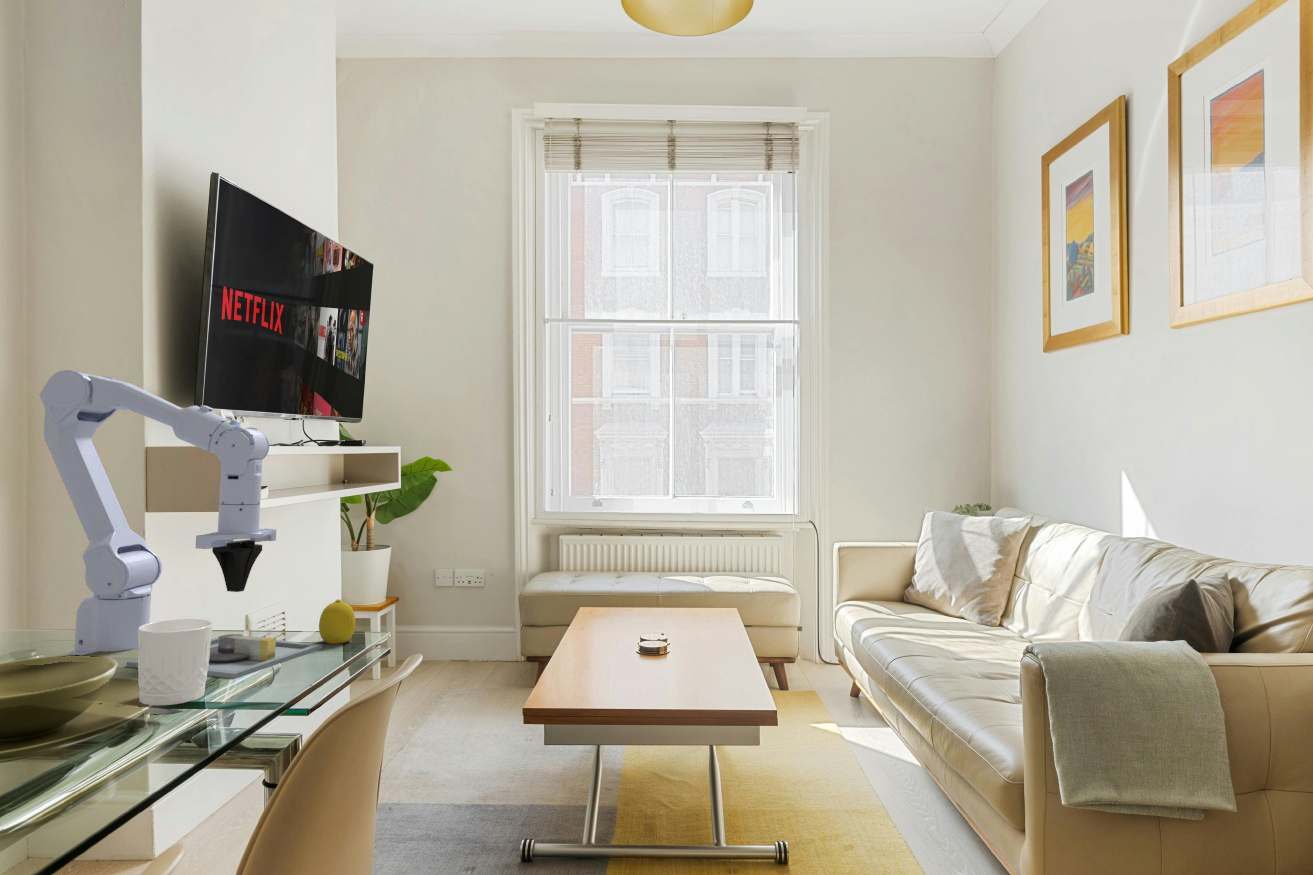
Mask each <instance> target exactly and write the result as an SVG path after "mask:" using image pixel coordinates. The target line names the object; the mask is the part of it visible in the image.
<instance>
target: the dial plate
mask: <svg viewBox="0 0 1313 875" xmlns="http://www.w3.org/2000/svg"><path fill="white" fill-rule="evenodd" d="M216 646H218V637H214V638H211V646H210V648H211V647H216ZM322 649H323V644H320V643H319V644H317V643H310V642H309V643H308V642H300V641H299V642H298V641H297V642H296V641H288V640H277V639H276V646H275V658H273V659H270V660H267V661H258V660H248V659H246V660H241V661H233V662H209V666H208V672H207V677H215V678H216V677H218V678H225V679H238V678H241V677H243V676H246V675H249V674H253V673H255V672H259V671H261V670H265V669H267V668H270V667H273V666H276V665H280V664H281V663H285V662H287V661H291V660H293V659H296V658H299V657H302V656H305V655H308V654H310V653H314V652H317V651H319V650H322ZM125 665H126V667H129V668H135V669H138V658H136V659H131V660H128V661H126V664H125Z"/></svg>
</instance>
